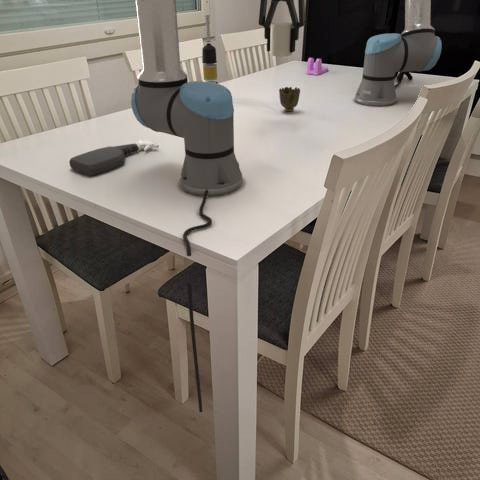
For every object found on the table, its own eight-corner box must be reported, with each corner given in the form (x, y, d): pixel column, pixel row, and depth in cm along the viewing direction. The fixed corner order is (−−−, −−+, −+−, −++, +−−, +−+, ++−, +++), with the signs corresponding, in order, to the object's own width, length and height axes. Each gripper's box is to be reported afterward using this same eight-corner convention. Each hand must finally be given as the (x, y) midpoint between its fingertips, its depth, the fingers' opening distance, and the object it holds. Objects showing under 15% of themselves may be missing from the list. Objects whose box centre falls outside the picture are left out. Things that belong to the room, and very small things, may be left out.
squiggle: (400, 92, 202) (376, 71, 205) (417, 76, 202) (392, 56, 205) (405, 81, 191) (380, 59, 194) (423, 64, 191) (397, 42, 194)
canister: (282, 52, 143) (283, 21, 138) (296, 54, 138) (297, 23, 133) (265, 54, 140) (266, 23, 135) (278, 57, 135) (279, 25, 130)
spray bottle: (67, 168, 120) (139, 144, 136) (91, 178, 114) (163, 151, 130) (65, 157, 118) (137, 134, 134) (89, 167, 112) (162, 142, 128)
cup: (275, 113, 160) (275, 90, 156) (283, 107, 165) (284, 85, 161) (294, 115, 157) (295, 92, 153) (302, 110, 162) (303, 87, 158)
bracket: (317, 75, 212) (318, 59, 208) (306, 73, 215) (307, 58, 211) (329, 70, 221) (331, 55, 217) (319, 69, 223) (320, 54, 220)
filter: (220, 99, 177) (217, 15, 161) (206, 100, 176) (202, 16, 160) (215, 96, 182) (212, 14, 166) (202, 97, 180) (197, 14, 164)
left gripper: (321, -37, 126) (315, 51, 138) (256, -36, 133) (256, 47, 145) (313, -37, 120) (308, 55, 132) (246, -36, 127) (246, 51, 139)
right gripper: (447, -77, 122) (431, 10, 133) (550, -84, 107) (522, 15, 118) (458, -76, 126) (441, 8, 138) (559, -83, 111) (531, 12, 123)
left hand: (280, 51), depth 138 cm, fingers closed on canister, 7 cm apart
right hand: (479, 11), depth 128 cm, fingers open, 13 cm apart
